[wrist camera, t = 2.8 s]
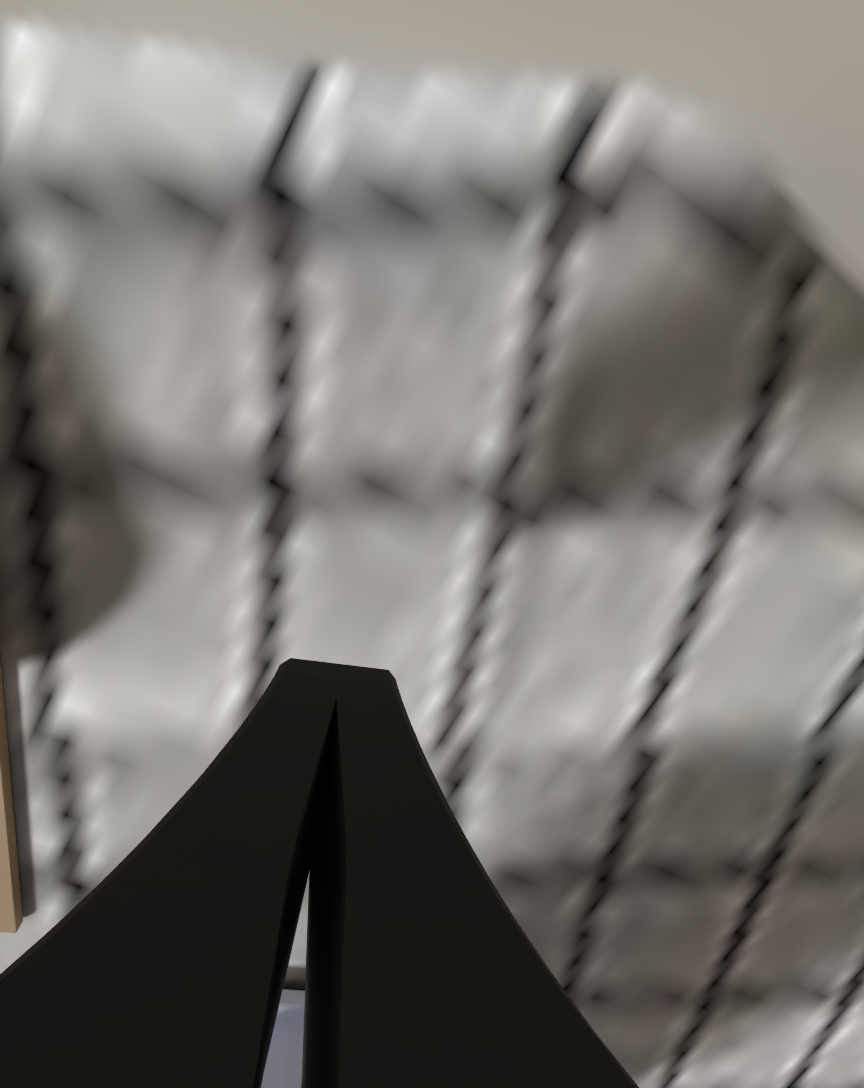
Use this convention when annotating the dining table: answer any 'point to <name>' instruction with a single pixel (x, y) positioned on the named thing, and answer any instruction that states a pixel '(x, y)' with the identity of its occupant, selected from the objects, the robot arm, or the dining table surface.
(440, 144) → the dining table surface
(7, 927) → the board
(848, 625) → the dining table surface
